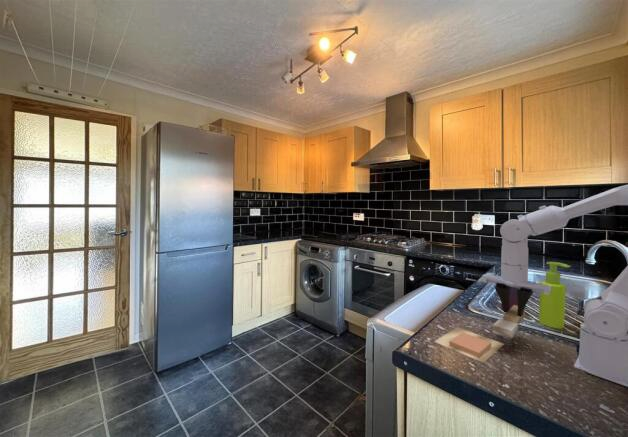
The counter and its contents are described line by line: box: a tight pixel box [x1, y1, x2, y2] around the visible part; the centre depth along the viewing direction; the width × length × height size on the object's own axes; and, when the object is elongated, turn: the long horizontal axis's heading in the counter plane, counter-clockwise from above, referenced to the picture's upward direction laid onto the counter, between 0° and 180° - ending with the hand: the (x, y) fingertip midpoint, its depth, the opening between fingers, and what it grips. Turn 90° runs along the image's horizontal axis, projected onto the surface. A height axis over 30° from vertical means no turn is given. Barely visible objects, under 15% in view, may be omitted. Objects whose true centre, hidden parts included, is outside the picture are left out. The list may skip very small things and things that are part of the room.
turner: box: [492, 305, 526, 340], centre depth 69 cm, size 4×14×3 cm, turn 127°
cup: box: [499, 267, 520, 312], centre depth 92 cm, size 7×7×15 cm
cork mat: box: [433, 326, 505, 364], centre depth 69 cm, size 12×14×1 cm
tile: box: [449, 333, 491, 357], centre depth 67 cm, size 7×1×8 cm
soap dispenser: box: [538, 261, 572, 330], centre depth 80 cm, size 6×7×20 cm
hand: (513, 313), depth 69 cm, fingers closed on turner, 2 cm apart
